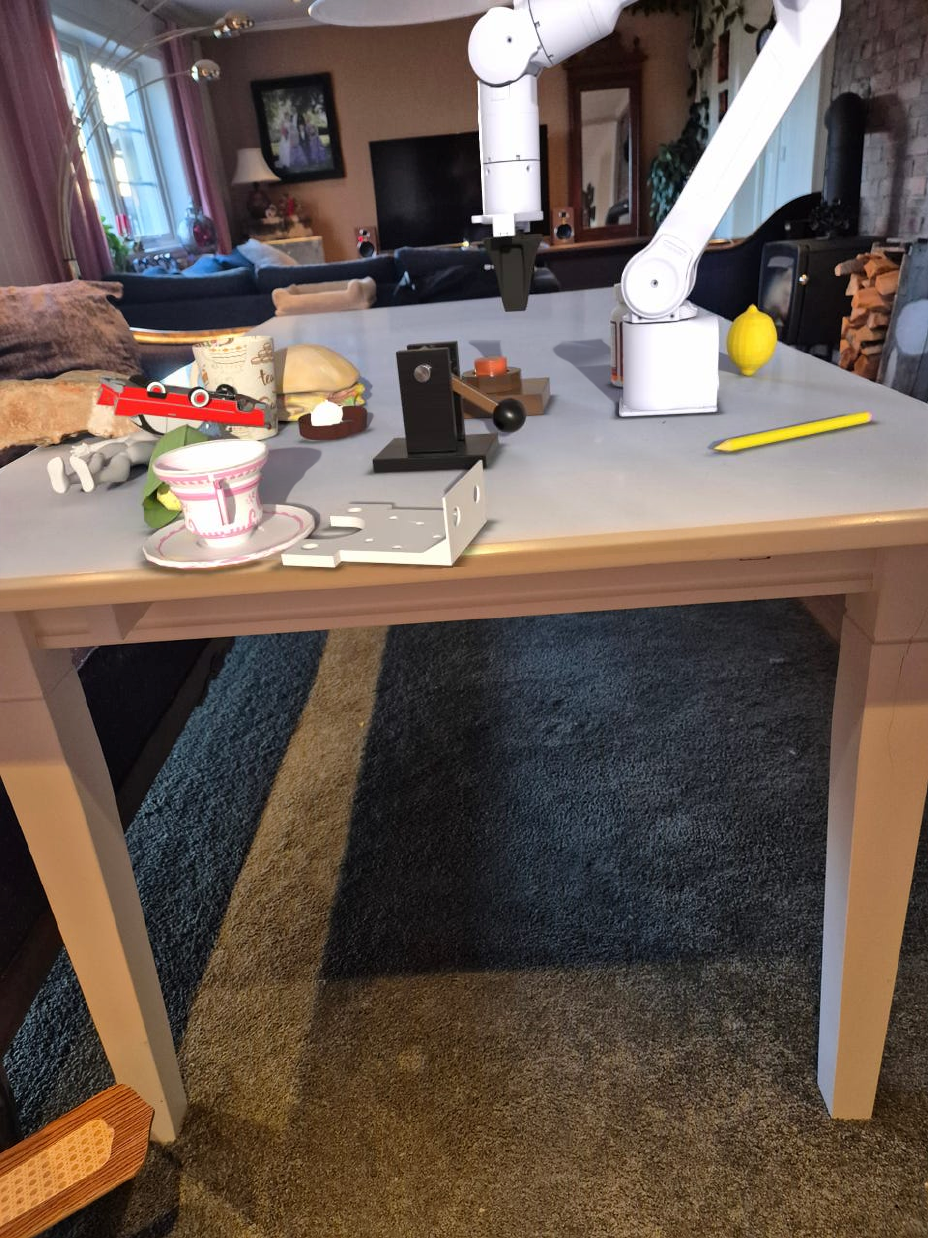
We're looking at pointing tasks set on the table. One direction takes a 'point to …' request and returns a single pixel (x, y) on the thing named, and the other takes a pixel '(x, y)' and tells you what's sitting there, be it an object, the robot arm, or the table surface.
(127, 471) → the character figure
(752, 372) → the fruit
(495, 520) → the table surface
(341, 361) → the burger
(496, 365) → the press button
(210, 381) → the mug
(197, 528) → the teacup
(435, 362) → the lever stand
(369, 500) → the table surface
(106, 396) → the toy car
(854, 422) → the pencil
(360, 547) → the bracket
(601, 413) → the table surface
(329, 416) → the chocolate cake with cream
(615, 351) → the pill bottle
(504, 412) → the lever
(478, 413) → the button block
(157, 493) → the edible corn
